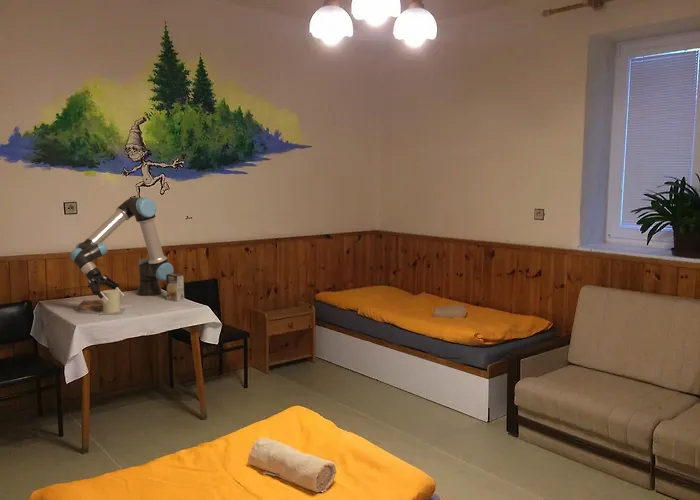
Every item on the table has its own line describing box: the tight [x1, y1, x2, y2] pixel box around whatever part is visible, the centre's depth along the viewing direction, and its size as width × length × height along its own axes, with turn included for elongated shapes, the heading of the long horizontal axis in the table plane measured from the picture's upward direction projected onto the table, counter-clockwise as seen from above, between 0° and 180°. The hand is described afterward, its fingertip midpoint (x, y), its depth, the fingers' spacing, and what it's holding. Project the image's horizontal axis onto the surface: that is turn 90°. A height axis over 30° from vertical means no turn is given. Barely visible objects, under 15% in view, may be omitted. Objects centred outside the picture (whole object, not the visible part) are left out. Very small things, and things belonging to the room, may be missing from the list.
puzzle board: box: [77, 299, 103, 312], centre depth 361 cm, size 17×17×2 cm
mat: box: [98, 307, 126, 316], centre depth 348 cm, size 12×12×1 cm
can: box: [101, 289, 121, 313], centre depth 347 cm, size 9×9×12 cm
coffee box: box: [165, 272, 185, 302], centre depth 382 cm, size 9×6×16 cm
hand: (115, 299), depth 346 cm, fingers open, 13 cm apart
